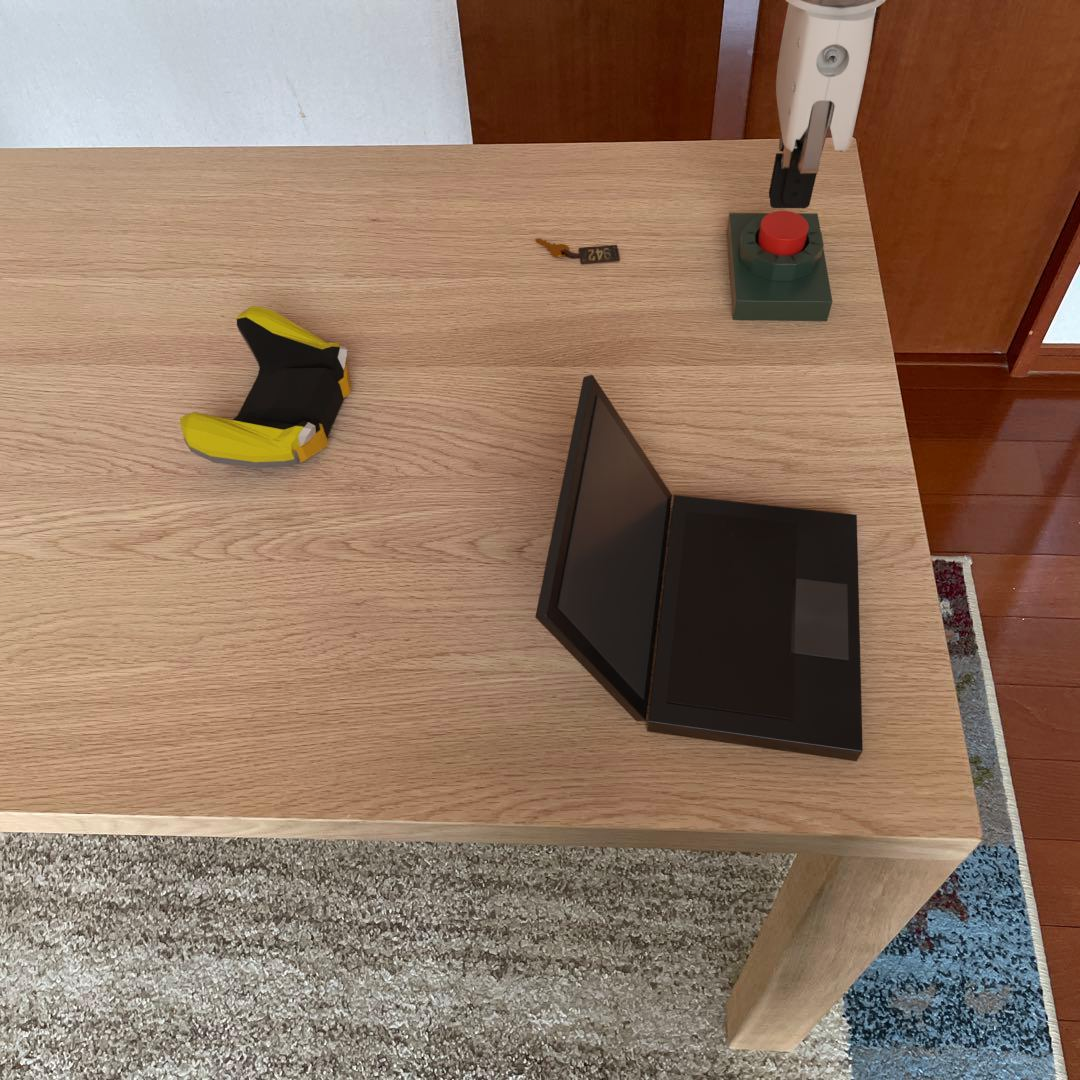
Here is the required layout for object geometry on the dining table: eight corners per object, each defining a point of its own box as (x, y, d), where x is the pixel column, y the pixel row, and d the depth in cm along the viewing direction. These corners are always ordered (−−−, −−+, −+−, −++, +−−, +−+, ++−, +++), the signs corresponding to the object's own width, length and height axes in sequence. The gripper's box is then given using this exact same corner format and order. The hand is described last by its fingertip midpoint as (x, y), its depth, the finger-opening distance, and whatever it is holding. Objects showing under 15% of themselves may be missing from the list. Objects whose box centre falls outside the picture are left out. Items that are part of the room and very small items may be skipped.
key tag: (622, 246, 87) (622, 241, 86) (618, 267, 85) (618, 262, 84) (535, 239, 88) (535, 234, 87) (530, 260, 86) (529, 254, 86)
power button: (756, 227, 82) (759, 210, 80) (802, 227, 82) (806, 210, 80) (759, 256, 80) (762, 239, 78) (807, 257, 79) (811, 240, 78)
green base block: (726, 232, 87) (731, 195, 84) (813, 233, 87) (821, 195, 83) (732, 320, 80) (739, 283, 77) (827, 321, 80) (837, 284, 77)
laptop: (851, 527, 68) (857, 513, 66) (856, 761, 58) (863, 751, 56) (672, 507, 69) (673, 493, 68) (646, 731, 59) (648, 720, 58)
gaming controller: (190, 478, 73) (310, 494, 71) (164, 431, 68) (292, 448, 67) (260, 345, 81) (369, 358, 80) (241, 295, 77) (356, 308, 75)
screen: (594, 373, 59) (583, 376, 60) (547, 615, 49) (534, 617, 50) (673, 494, 68) (663, 496, 68) (648, 721, 58) (636, 722, 58)
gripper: (912, 21, 58) (844, 261, 73) (879, -85, 66) (824, 149, 81) (790, 22, 58) (748, 260, 74) (772, -83, 67) (737, 149, 82)
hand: (788, 201), depth 77 cm, fingers closed
